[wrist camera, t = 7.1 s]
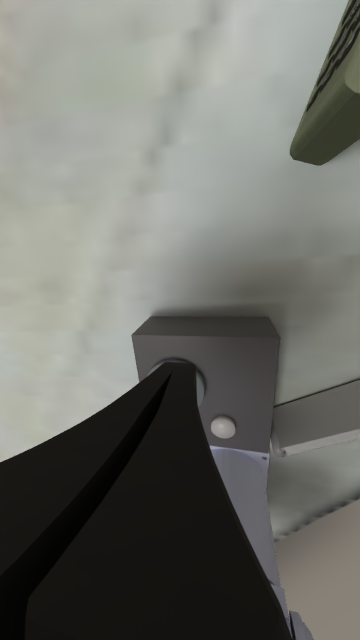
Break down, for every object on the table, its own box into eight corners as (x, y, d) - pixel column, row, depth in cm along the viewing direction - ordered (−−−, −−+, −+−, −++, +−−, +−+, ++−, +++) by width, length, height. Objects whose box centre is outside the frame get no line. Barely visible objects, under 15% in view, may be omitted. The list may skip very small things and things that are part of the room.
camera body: (260, 414, 20) (270, 463, 15) (161, 404, 22) (145, 445, 18) (268, 316, 16) (283, 343, 12) (150, 316, 19) (126, 339, 14)
